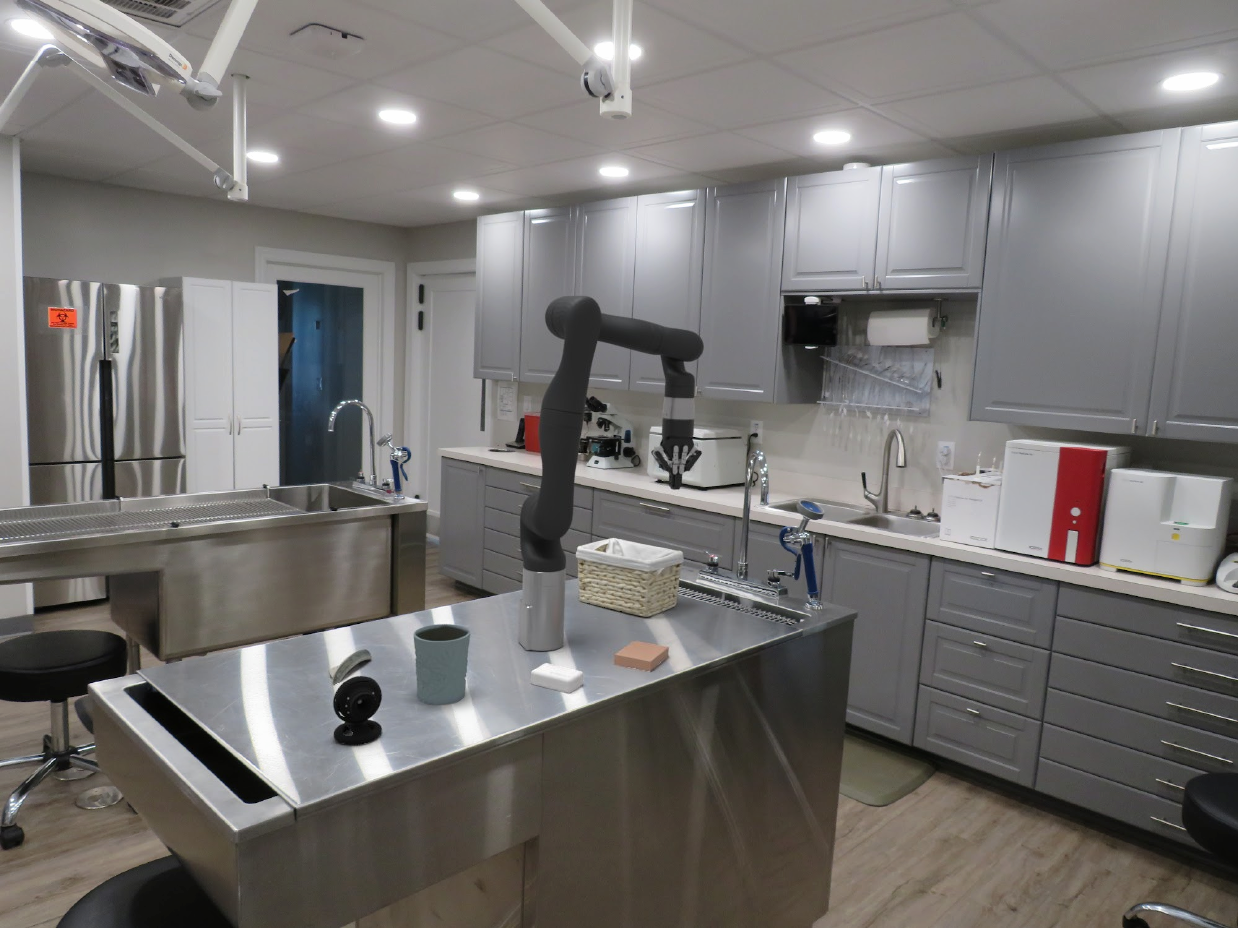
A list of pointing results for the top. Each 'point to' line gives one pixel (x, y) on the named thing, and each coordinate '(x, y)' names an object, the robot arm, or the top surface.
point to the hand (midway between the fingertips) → (675, 489)
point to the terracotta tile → (641, 655)
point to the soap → (557, 678)
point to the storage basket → (629, 576)
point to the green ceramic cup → (441, 663)
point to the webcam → (357, 710)
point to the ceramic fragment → (349, 664)
